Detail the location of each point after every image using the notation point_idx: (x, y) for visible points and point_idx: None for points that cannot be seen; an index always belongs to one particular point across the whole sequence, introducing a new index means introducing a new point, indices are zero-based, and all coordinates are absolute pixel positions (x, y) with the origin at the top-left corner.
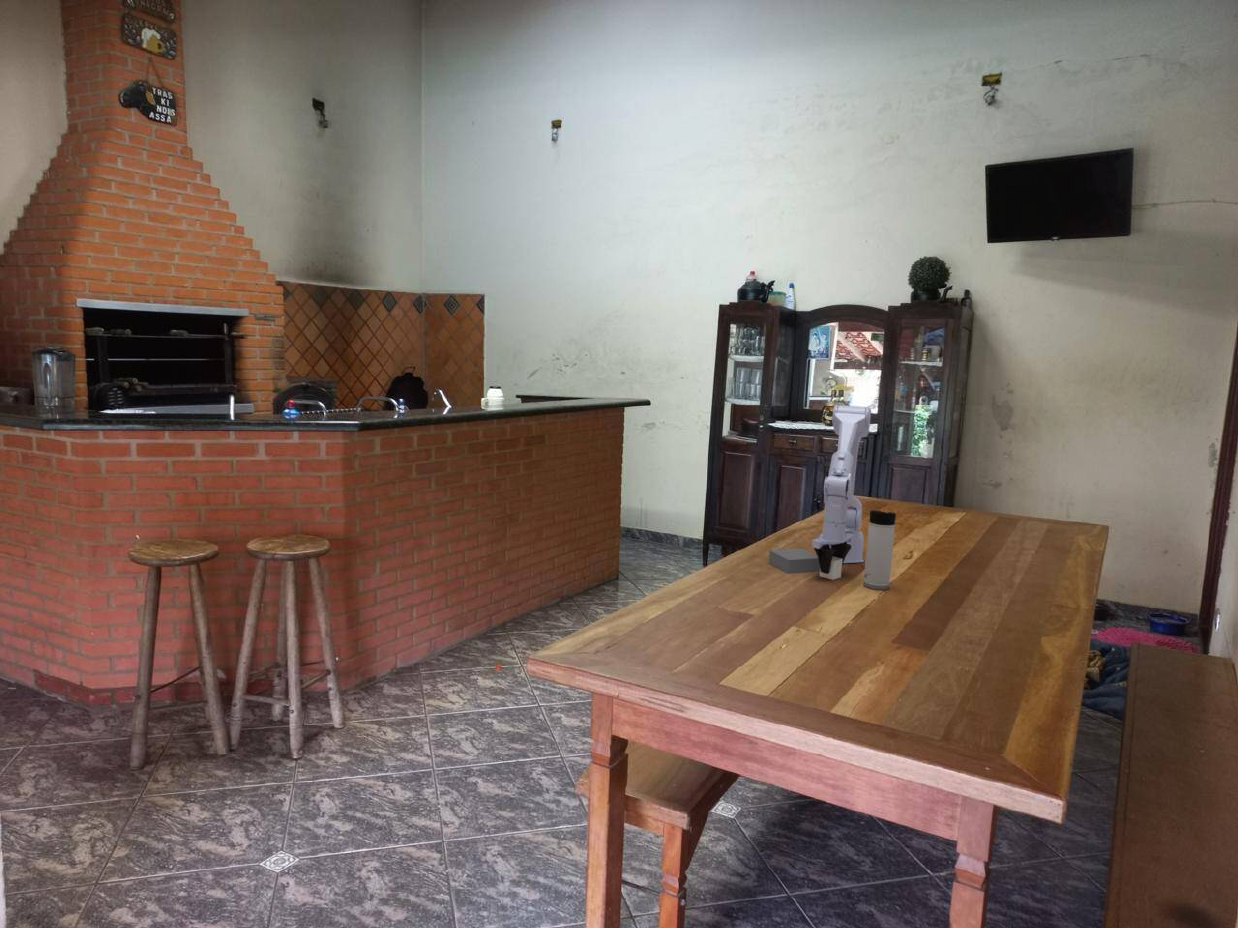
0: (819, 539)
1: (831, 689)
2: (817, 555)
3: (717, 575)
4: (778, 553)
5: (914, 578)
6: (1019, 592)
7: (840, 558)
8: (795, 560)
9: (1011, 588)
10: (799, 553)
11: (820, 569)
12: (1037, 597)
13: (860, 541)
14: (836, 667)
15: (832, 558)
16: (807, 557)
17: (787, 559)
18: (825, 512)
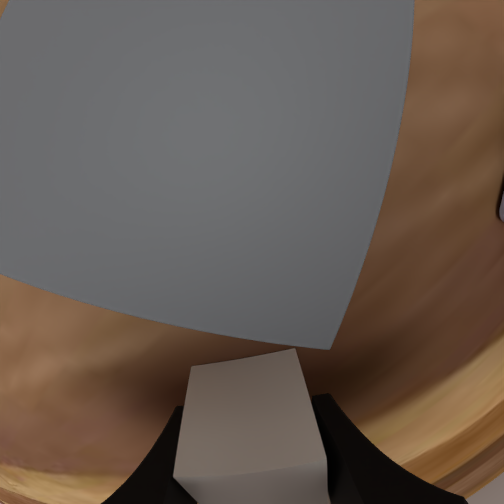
0: None
1: (3, 499)
2: (113, 494)
3: None
4: (12, 21)
5: (476, 436)
6: (476, 481)
7: (321, 502)
8: (12, 273)
9: (491, 468)
10: (229, 58)
11: (185, 403)
12: (464, 493)
13: None
14: (13, 500)
15: (263, 500)
16: (177, 272)
17: None
18: None
